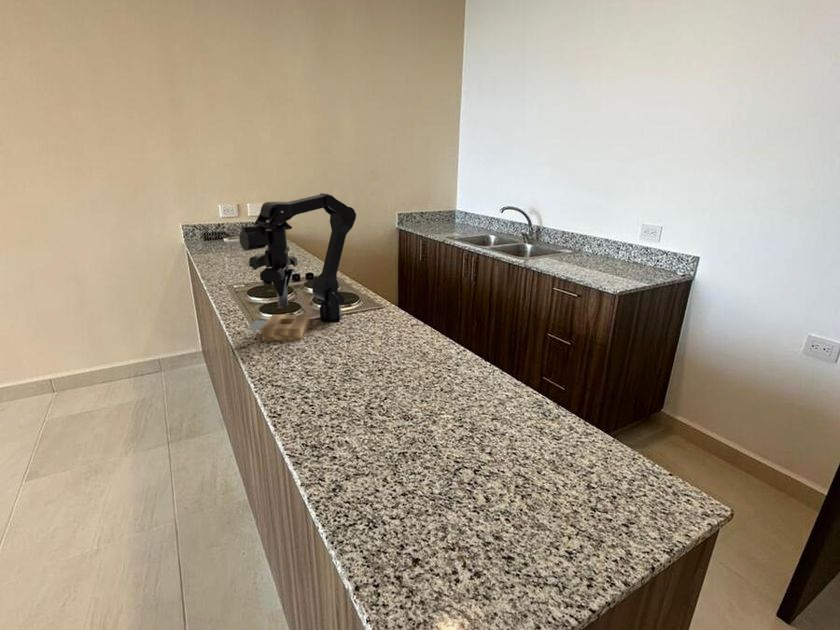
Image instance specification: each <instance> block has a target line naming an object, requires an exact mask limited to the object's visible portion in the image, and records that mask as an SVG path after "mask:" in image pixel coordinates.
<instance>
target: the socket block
mask: <svg viewBox="0 0 840 630" xmlns="http://www.w3.org/2000/svg"><path fill="white" fill-rule="evenodd" d="M266 321H267V322H266V323H265V324H264V326H263V327H262V328H261V330H260V332H261V338H262V339H261V340H265V341H267V340H268V341H270V340H271V341H278V340H280V341H302V339H303V338H304V337H305V334H306V333H307V331H308V329H309V328H310V326H311V322H310V321H311V320H310V315H309V314H272V315H271V317H269V318H268V320H266Z"/></svg>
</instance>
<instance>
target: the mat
mask: <svg viewBox="0 0 840 630" xmlns="http://www.w3.org/2000/svg"><path fill="white" fill-rule="evenodd" d="M267 321H268V320H263V319H262V320H257V319H255V320H254V321H253V323H251V325H250V326H249V327H248V328H247V330H254V331H255V330H256V331H257V330H258V331H259V330H260V331H261V328H262V327H263V326H264V324H265V323H266V322H267Z"/></svg>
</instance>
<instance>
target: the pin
mask: <svg viewBox="0 0 840 630" xmlns="http://www.w3.org/2000/svg"><path fill="white" fill-rule="evenodd" d="M276 295H277V305H278V307H280V308H283V307H285V308H286V307H288V306H289V299H288V288H287V287H286V285H285V289H284V293H283V296H282V297H280V296H279V295H278V293H277V292H276Z"/></svg>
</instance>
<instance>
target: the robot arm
mask: <svg viewBox="0 0 840 630" xmlns="http://www.w3.org/2000/svg"><path fill="white" fill-rule="evenodd" d="M320 209H321V210H322V209H323V210H324V211H325V213H327V214H328V215H329V225H330V227H331V231H330V232H331V233H330V236H329V242H328V245H327V250H326V253H325V257H324V258H325V259H324V263H323V265H322V266H323V267H322V271H321V273H320V274H319V275H318V276H317V275H315V276H314V278H313V281H312V282H313V283H312V284H311V286H310V287H311V288H312V294H313V295H314V297H315V298H316V299H317V302H320V306H319V319H320V322H324V323H340V321H341V320H342V318H343V314H342V307H341V305H343V304H345V303H344V302H345V297H344V296H343V295H342V294H341V293H339V282H338V281H339V280H338V277H337V275H338V272H339V271H338V270H339V266H340V262H341V260H342V259H341V258H342V254H343V249H344V245H345V243H346V242H345V241H346V238H347V235H348V233H349V232H350V231H351V229H352V228H353V227H354V224H355V222H356V218H357V213H356V211H355V208H353V207H351V206H348V205H346V204H345V203H343V202H342V201H340V200H338V199H337V198H335V196H334V195H332V194H330V193H322V192H321V193H320V194H317V195H313V196H308V197H303V198H300V199H294V200H290V201H267V202H264V203H262V206H261V208H260V211H259V214H258V216H257V217H256V220H255V222H254V223H253V225H242V226H241V231H240V232H239V237H238V240H239V244H240V246H241V249H242V250H243V251H246V252H247V251H253V250H259V249H264V248H266V247H267V249H266V250H265V251H264V253H262V254H260V255H254V256H251V257H249V260H248V264H249V265H248V266H249V267H250V268H252V271H256V270H258V269H260V268H262V267H265V268H264V269H262V271H261V272H259V280H260V281H265V282H266V281H268V282H269V281H270V282H271V283H272V284H273V286H274V288H275V291H276V294H277V293H278V295H279V296H280V297H282V296H283V293H284V289H285V285H286V287H287V289H288V287H289V286H290V285H289V284H290V282H291V278H292V276H293V272H294V270H295V269H294V268H296V267H297V266H298V265H299V264H298V259H297V257H295V256H294V255H293V256H292V255H291V256H290V255H289V251H290V247H289V246H288V242H287V241H288V239H287V232H286V231H287V230H292V229H293V226H292V225H290V223H288V221H290V220H291V219H293V218H294V216H295V217H296V216H297V215H301V214H304V213H309V212H312V211H316V210H320ZM290 266H293V268H290Z"/></svg>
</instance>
